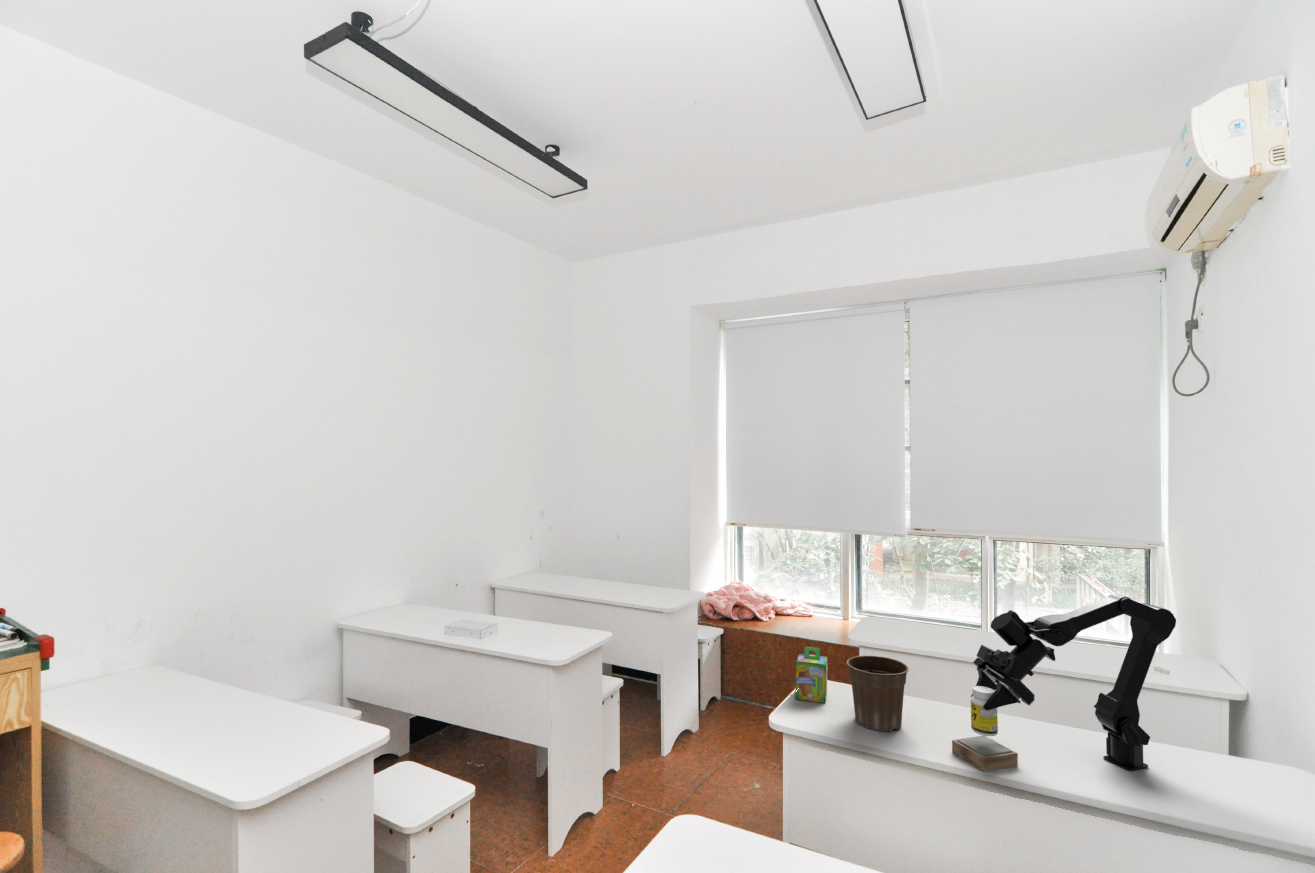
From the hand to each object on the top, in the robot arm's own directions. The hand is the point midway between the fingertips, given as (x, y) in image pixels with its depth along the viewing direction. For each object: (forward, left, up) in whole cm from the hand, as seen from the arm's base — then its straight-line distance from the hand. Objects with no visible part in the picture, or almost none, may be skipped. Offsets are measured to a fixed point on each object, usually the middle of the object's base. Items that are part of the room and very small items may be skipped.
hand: (978, 703), depth 149 cm
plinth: (-1, -1, -13) cm, 13 cm away
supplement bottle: (0, -1, -7) cm, 7 cm away
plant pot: (+24, +11, -13) cm, 30 cm away
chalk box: (+47, +18, -13) cm, 52 cm away
